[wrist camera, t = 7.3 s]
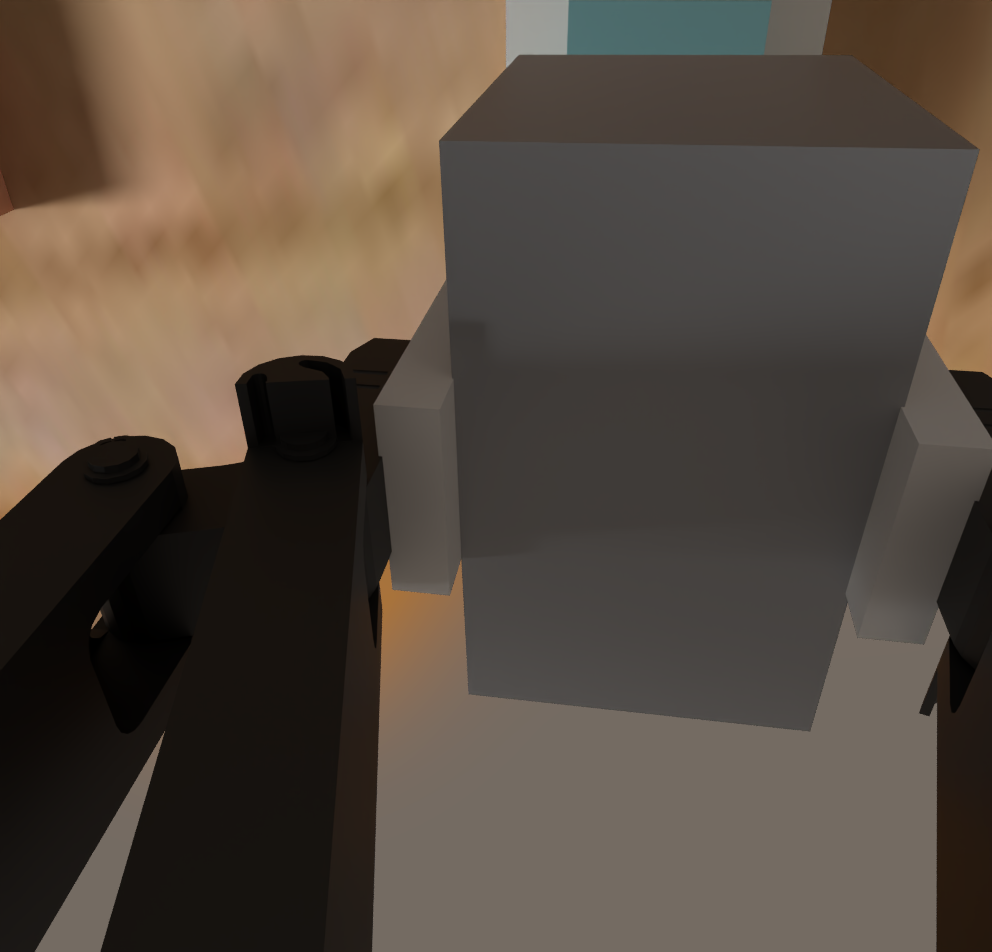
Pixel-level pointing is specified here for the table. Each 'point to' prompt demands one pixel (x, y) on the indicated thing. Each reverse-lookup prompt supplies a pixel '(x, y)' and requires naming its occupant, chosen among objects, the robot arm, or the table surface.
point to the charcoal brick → (681, 366)
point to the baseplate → (544, 27)
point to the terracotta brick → (4, 197)
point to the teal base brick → (667, 27)
